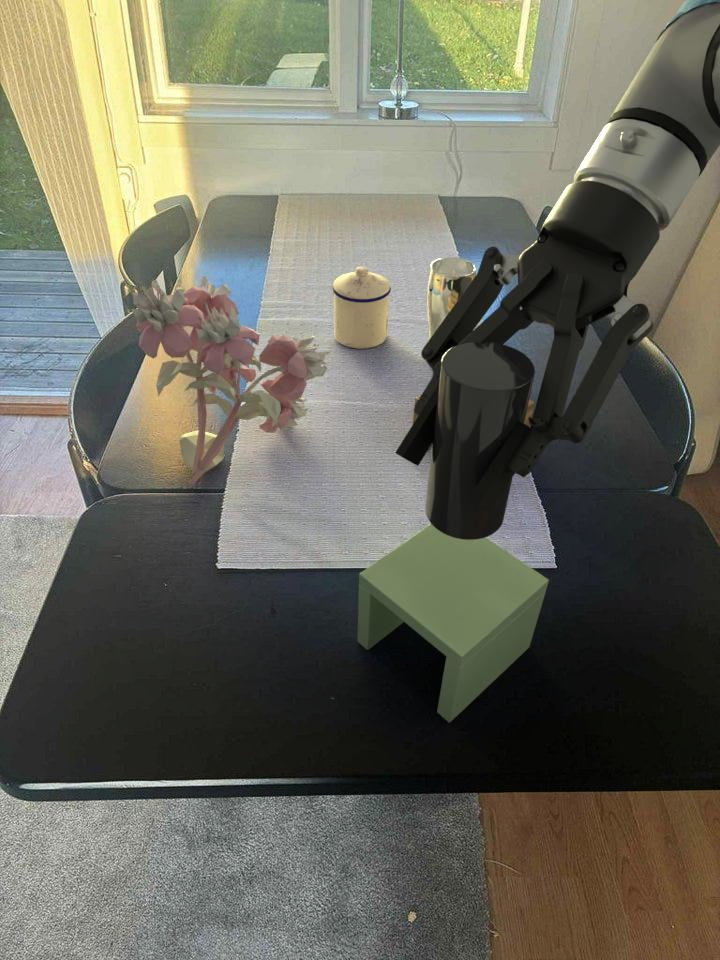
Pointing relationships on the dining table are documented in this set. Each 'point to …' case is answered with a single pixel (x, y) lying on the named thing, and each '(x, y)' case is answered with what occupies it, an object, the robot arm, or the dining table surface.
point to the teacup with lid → (361, 308)
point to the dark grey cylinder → (474, 432)
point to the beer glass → (446, 287)
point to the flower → (223, 364)
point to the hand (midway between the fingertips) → (441, 481)
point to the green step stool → (454, 607)
